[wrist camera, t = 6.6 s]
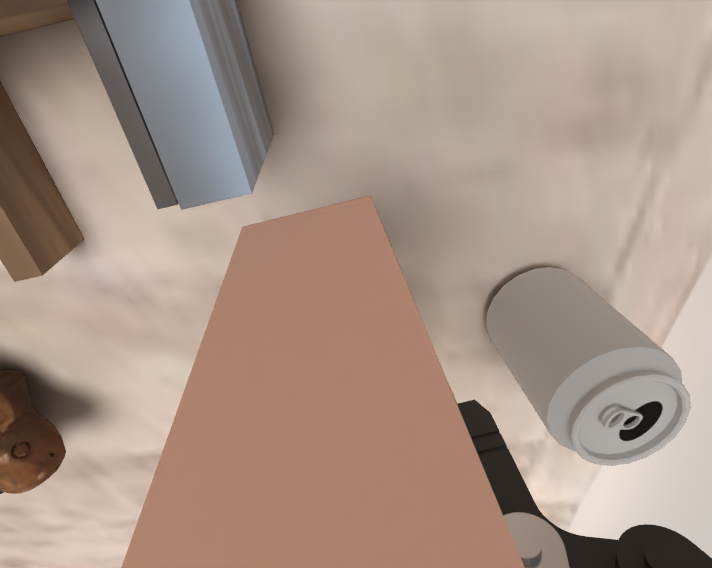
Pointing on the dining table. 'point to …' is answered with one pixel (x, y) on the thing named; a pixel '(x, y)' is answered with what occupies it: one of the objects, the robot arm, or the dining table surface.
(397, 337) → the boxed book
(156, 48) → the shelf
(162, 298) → the dining table surface
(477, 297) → the dining table surface
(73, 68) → the dining table surface
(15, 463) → the decorative turtle
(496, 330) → the can
